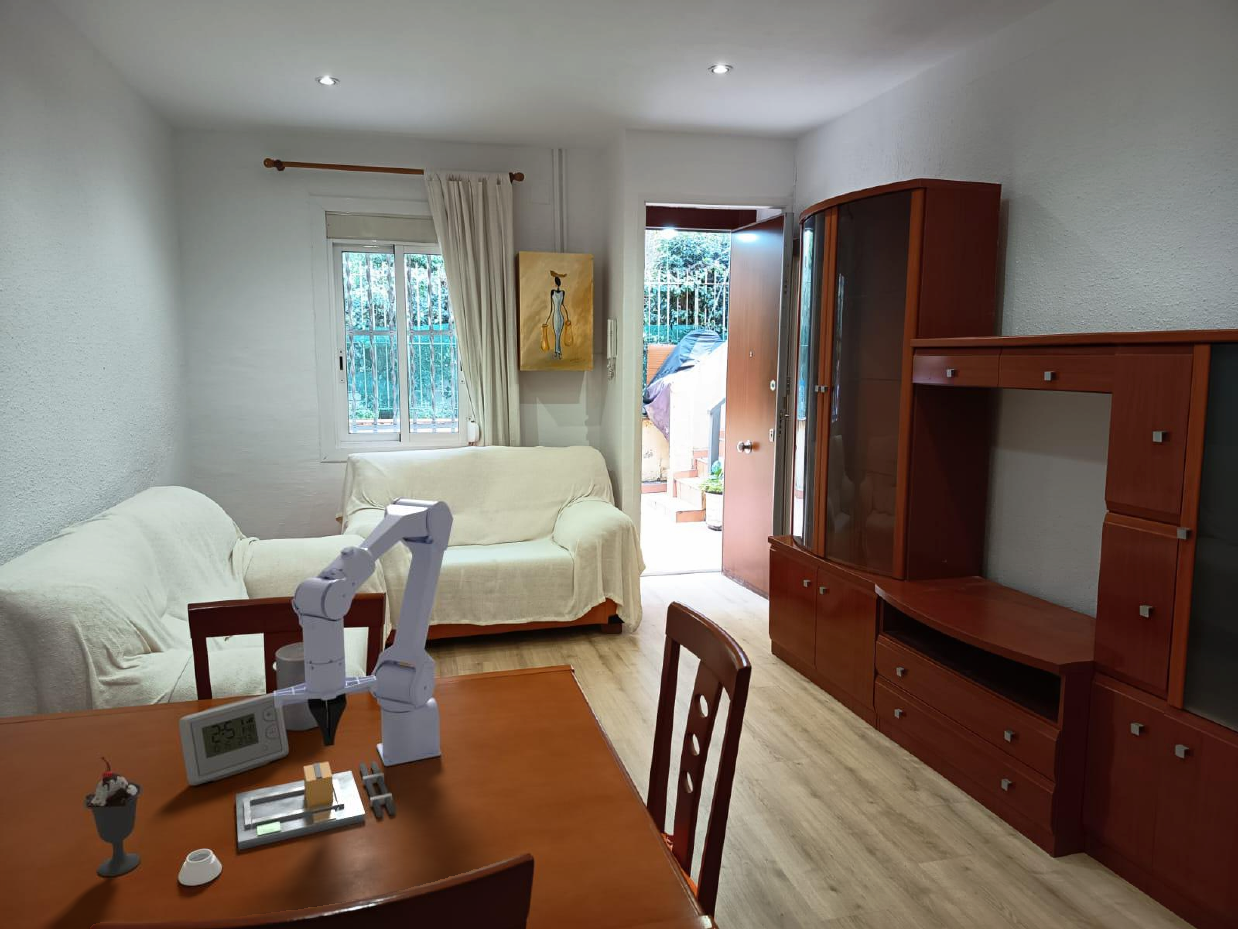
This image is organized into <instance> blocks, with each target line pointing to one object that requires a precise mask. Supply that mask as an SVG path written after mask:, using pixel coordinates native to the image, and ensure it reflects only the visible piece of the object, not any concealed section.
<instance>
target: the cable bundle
mask: <svg viewBox="0 0 1238 929" xmlns="http://www.w3.org/2000/svg"><path fill="white" fill-rule="evenodd" d="M370 767H371V769H372V772H373V774H369V770H368V767H367V765H366V763H363V762H362V763H360V764H359V770H360V773H361V775H362V785H363V786H365V787H366V791H367V793H368V796H369V804H370V807H371V808H372V807H373V810H374V813H375V815H376V818H377V819H378V818H382V817H384V812H383V810H382V809H383V808H382V807H381V806H382V805H385V806H386V810H387V812H388V814H389V816H393V815H395V813H396V808H395V805H394V803H393V795H392V792H389V790H388V788H387V786H386V783H385V773H384V772H381V770H380V768H379V765H378V763H377V761H376V760H373V761H371V763H370ZM374 784H377V785H378V789H379V791H380V793H381V794H380V795H377V792H376V790H375V787H374Z"/></svg>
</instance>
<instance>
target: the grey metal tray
mask: <svg viewBox="0 0 1238 929" xmlns="http://www.w3.org/2000/svg"><path fill="white" fill-rule="evenodd" d="M332 779H333V802H332V803H327V804H323V805H318V806H313V807H309V808H308V807H307V802H306V797H305V789H304V779H303V780H299V781H293V782H288V783H283V784H278V785H273V786H269V787H263V788H258V789H253V790H249V791H243V792H240V793H239V792H238V793H235V801H236V802H235V804H236V826H237V847H238V851H241V850H245V849H250V848H254V847H258V846H259V847H260V846H264V845H265V844H266V845H267V844H270V843H275V842H279V841H284V840H288V839H293V838H297V837H301V836H307V835H310V834H314V833H319V832H323V831H324V832H325V831H327V830H333V829H336V828H340V827H345V826H350V825H354V824H359V823H362V822H366V812H365V809H364V806H363V802H362V799H361V797H360V794H359V790H358V788H357V784H356V781H355V778H354V775H353V772H352V770H348V771H343V772H338V773H334V774H332Z"/></svg>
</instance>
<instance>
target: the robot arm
mask: <svg viewBox="0 0 1238 929" xmlns="http://www.w3.org/2000/svg"><path fill="white" fill-rule="evenodd" d="M453 522H454V517H453V515H452V512H451V509H450V507H449V505H448V504H447V503H446V501H443V500H437V501H436V500H435V501H434V500H425V499H424V500H423V499H412V498H405V497H400V496H399V497H396V498H394V499H393V500H392V501H391V502H390V504H388V505H387V506H386V507H385V508H384V513H383V519H382V520H381V521H380V522H379V524H378V525H376V526H375V527H374V529H373V530H372V531H371V532H370V533H369V535H368V536H367V537H366V538H365V539H364V540H363V541H362V543H361V544H360V545H359V546H356V545H354V546H352V545H351V546H348V547H347V546H346V547H344V548H343V549H342V550H340V554H339V555H338V556H337V557H336V558H334V560H332V562H331V563H329V564H328V565H327V566H326V567H324V568H323V569H322V570H321V572H320V573H319V574H317V576H316V577H315V576H312V577H308V578H306V579H304V580H303V581H302V582H300V583H299V584H298V586H297V587H296V588H295V591H294V595H293V599H291V606H292V608H293V611H294V613H296V614H297V616H298V623H299V624H298V625H300V627H301V628H302V642H304V662H305V683H304V684H300V685H297V686H293V687H290V688H286V689H282V690H273V693H274V706H275V708H280V707H283V705H288V704H294V703H300V702H306V701H307V702H308V706H309V710H310V712H311V714H312V715H313V717H314V718H315V720H316V722H317V724H318V728H319V731H320V733H321V735H322V743H323V747H325V748H326V747H330V746H331V747H332V746H334V745H335V739H336V734H337V729H338V726H339V723H340V720H341V718H342V715H343V713H344V711H345V709H346V707H347V705H348V704H347V702H348V701H347V698H346V696H348V695H353V694H359V693H365V692H370V694H371V696H373V697H374V698H375V699H377V701H376V702H377V703H376V704H377V705H379V706H380V707H381V708H380V709H381V710H380V711H381V717H380V719H381V743H378V744H376V748H377V750H378V753H379V756H380V759H381V761H382V764H383V765H384V766H385V767H390V766H394V765H398V764H399V765H400V764H405V763H409V762H415V761H419V760H423V759H428V758H433V757H438V756H441V754H442V753H441V748H440V745H441V742H440V739H441V738H440V715H439V714H440V713H439V708H438V705H437V704H438V703H437V701H436V699H435V698H434V697H432V695H434V691H435V687H436V682H435V681H436V680H435V668H436V662H435V660H434V659H433V658H432V657H431V656H430V654H429V653H428V652H427V651H426V649H425V647H426V641H427V637H428V633H429V627H430V622H431V619H432V613H433V607H434V603H435V597H436V593H437V588H438V583H439V579H440V573H441V569H442V564H443V560H444V556H445V555H444V554H445V551H447V549H448V546H449V540H450V536H451V532H452V529H453V528H452V527H453ZM399 542H401V543H402V544H403V546H405V547H407V548H408V550H409V552H410V553H411V560H410V566H409V570H408V574H407V579H406V583H405V588H404V593H403V598H402V602H401V606H400V612H399V616H398V622H397V626H396V630H395V635H394V639H393V640H394V641H393V644H392V645H391V646H390V647H387V648H386V649H385V650H383V651H381V652H380V653H379V655H378V659H377V662H376V665H375V667H374V669H373V671H372V672H371V675H367V676H347V675H346V655H345V654H346V653H345V652H346V651H345V631H344V629H345V628H344V624H345V623H344V616H346V615H347V614H348V612H349V610H350V608H351V604H352V602H353V599H354V598H355V597H356V593H357V591H358V590H359V589H360V588H361V587H362V586H363V585H364V584H365V583H366V581H368V580H369V579H370V578H371V577H372V575H373V574H374V573H375V571H376V568H377V567H376V562H377V561H378V560H379V559H381V557H382V556H384V555H385V554H386V553H387V552H388V551H389V550H390V549H392V548H393V547H394V546H396V544H398V543H399ZM399 663H402V664H399ZM403 663H404V664H403ZM405 664H409V665H405ZM410 665H412V666H410ZM326 700H327V706H326ZM327 711H328V723H327Z"/></svg>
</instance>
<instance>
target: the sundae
mask: <svg viewBox="0 0 1238 929" xmlns="http://www.w3.org/2000/svg"><path fill="white" fill-rule="evenodd" d="M100 759H101V760H102V761H104V762H105V763H106V770H105V771H104V772H103V773H102V774H101V775H102V776H101V777H102V779H101V780H100V782H99V783H98V784H97V787H96V789H95V790H94V791H92V792H90V793H89V794H87V795H85V798H84V803H83V804H84V807H85V808H86V809H89V810H91V812H92V814H93V819H94V823H95V826H96V830H97V832H98V833H97V834H98V835H99V836H98V837H99V838H100V840H102V841H103V842H105V843H108V844H111V846H112V851H113V852H112V856H111V857H109V858H108V859H106V860H104V861H103V862H102V863H101V864H100V865H99V866H98V867H97V873H98V874H99V875H100V876H102V877H106V876H111V877H117V876H121V875H123V874H126V873H129V872H131V871H133V870H134V869H135V868H136V867H138V865H139V864H140V862H141V856H140V855H139V854H136V853H125V850H124V841H125V840H126V839H127V838H128V837H129V836H130V835H131V833H132V832H133V831H134V828H135V824H136V817H137V816H136V815H137V803H138V798H139V795H140V794H141V793H142V792H143V790H144V787H143V786H142V785H140V784H139V783H137V782H134V781H127V780H126V778H125V777H124V776H122V774H118V773H115V772H114V771H113V770H111V766H110V763H109V762H108V761H107V760H106V759H105V757H104V756H103V755H102V756H101V757H100Z"/></svg>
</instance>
